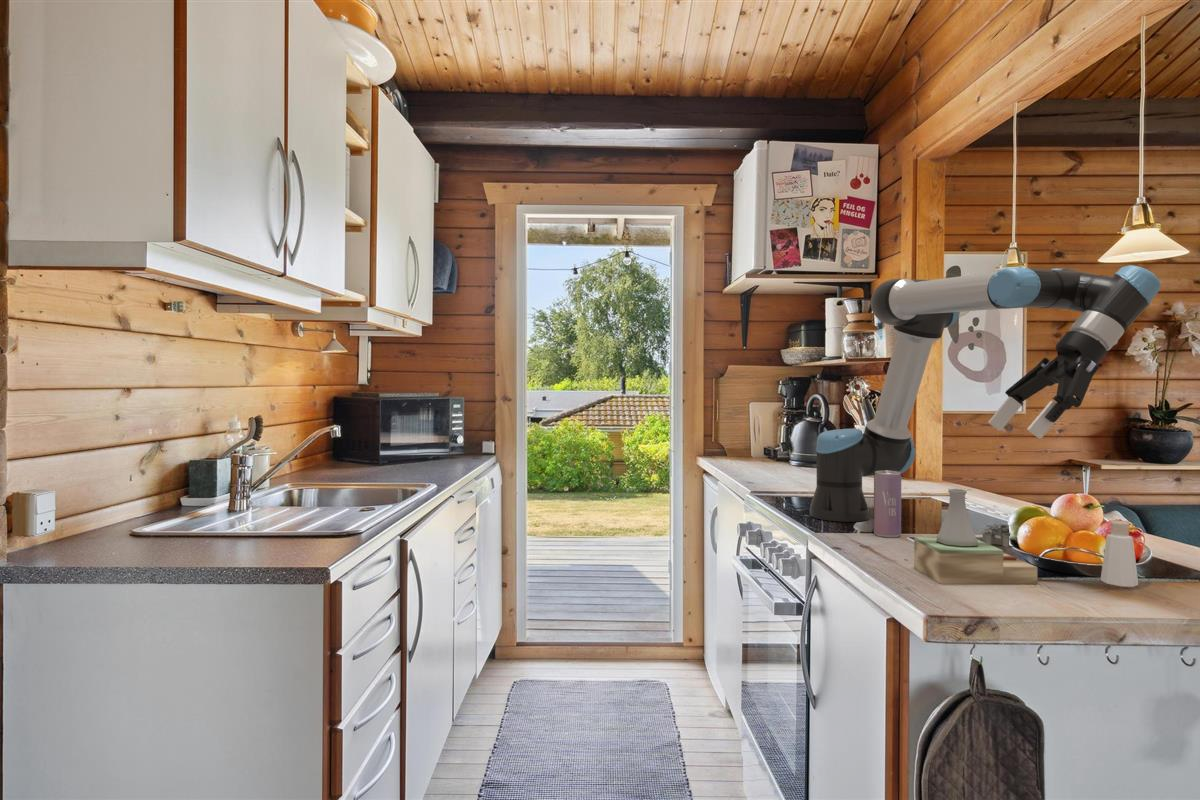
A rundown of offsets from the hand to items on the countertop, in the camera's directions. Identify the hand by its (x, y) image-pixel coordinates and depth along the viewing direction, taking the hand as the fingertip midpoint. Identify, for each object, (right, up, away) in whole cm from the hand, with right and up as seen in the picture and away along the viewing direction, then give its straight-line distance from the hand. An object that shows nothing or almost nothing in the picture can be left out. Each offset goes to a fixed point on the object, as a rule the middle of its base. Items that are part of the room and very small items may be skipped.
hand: (1012, 430), depth 131 cm
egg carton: (+13, -27, +26) cm, 39 cm away
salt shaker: (+15, -27, -7) cm, 32 cm away
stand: (-9, -27, -2) cm, 28 cm away
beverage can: (-10, -26, +33) cm, 43 cm away
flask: (-12, -21, -2) cm, 24 cm away
